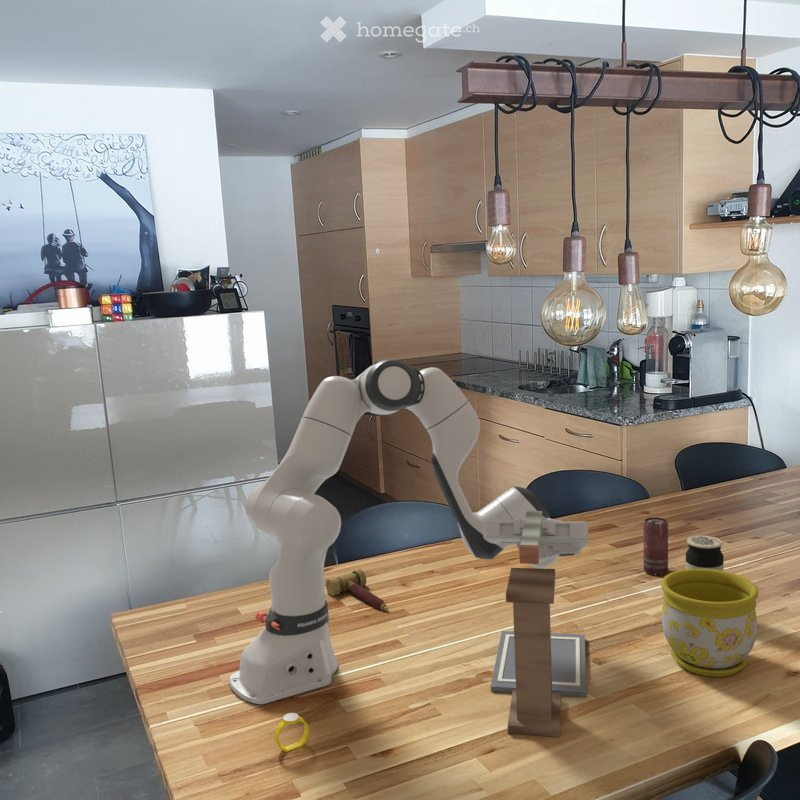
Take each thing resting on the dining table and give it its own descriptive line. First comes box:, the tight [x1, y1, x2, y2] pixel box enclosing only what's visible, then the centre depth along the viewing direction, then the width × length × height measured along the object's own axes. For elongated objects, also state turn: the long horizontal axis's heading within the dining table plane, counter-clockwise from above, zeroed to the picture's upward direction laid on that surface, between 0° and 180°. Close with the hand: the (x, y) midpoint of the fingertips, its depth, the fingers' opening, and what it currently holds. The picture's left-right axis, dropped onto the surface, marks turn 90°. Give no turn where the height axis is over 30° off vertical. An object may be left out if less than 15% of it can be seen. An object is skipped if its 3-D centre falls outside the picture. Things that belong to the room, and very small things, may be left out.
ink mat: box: [490, 630, 587, 698], centre depth 164 cm, size 24×18×1 cm
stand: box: [505, 567, 562, 738], centre depth 143 cm, size 12×9×26 cm
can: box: [643, 517, 669, 576], centre depth 207 cm, size 6×6×14 cm
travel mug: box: [685, 535, 725, 571], centre depth 180 cm, size 8×8×18 cm
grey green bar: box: [518, 511, 542, 565], centre depth 145 cm, size 20×3×3 cm, turn 168°
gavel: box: [325, 568, 389, 612], centre depth 201 cm, size 21×5×10 cm
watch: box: [273, 712, 310, 753], centre depth 139 cm, size 6×3×6 cm, turn 119°
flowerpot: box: [660, 568, 759, 678], centre depth 160 cm, size 18×18×16 cm
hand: (533, 524), depth 150 cm, fingers closed on grey green bar, 3 cm apart
